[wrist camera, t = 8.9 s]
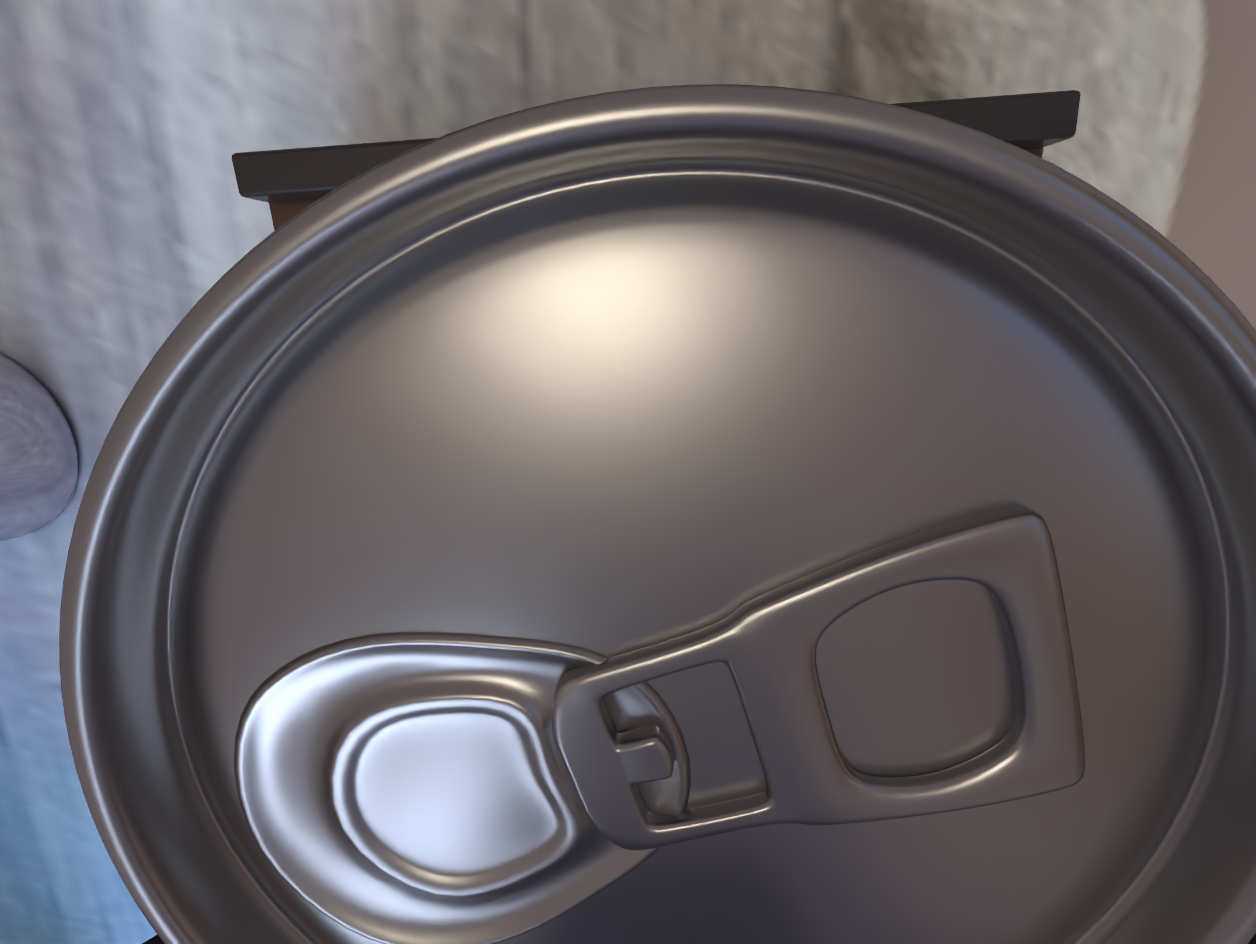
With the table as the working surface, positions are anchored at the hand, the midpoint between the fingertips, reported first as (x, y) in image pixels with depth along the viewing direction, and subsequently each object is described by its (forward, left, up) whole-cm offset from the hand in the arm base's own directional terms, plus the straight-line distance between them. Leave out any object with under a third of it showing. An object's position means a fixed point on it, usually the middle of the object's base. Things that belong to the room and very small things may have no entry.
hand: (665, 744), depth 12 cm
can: (+6, -2, -5) cm, 8 cm away
